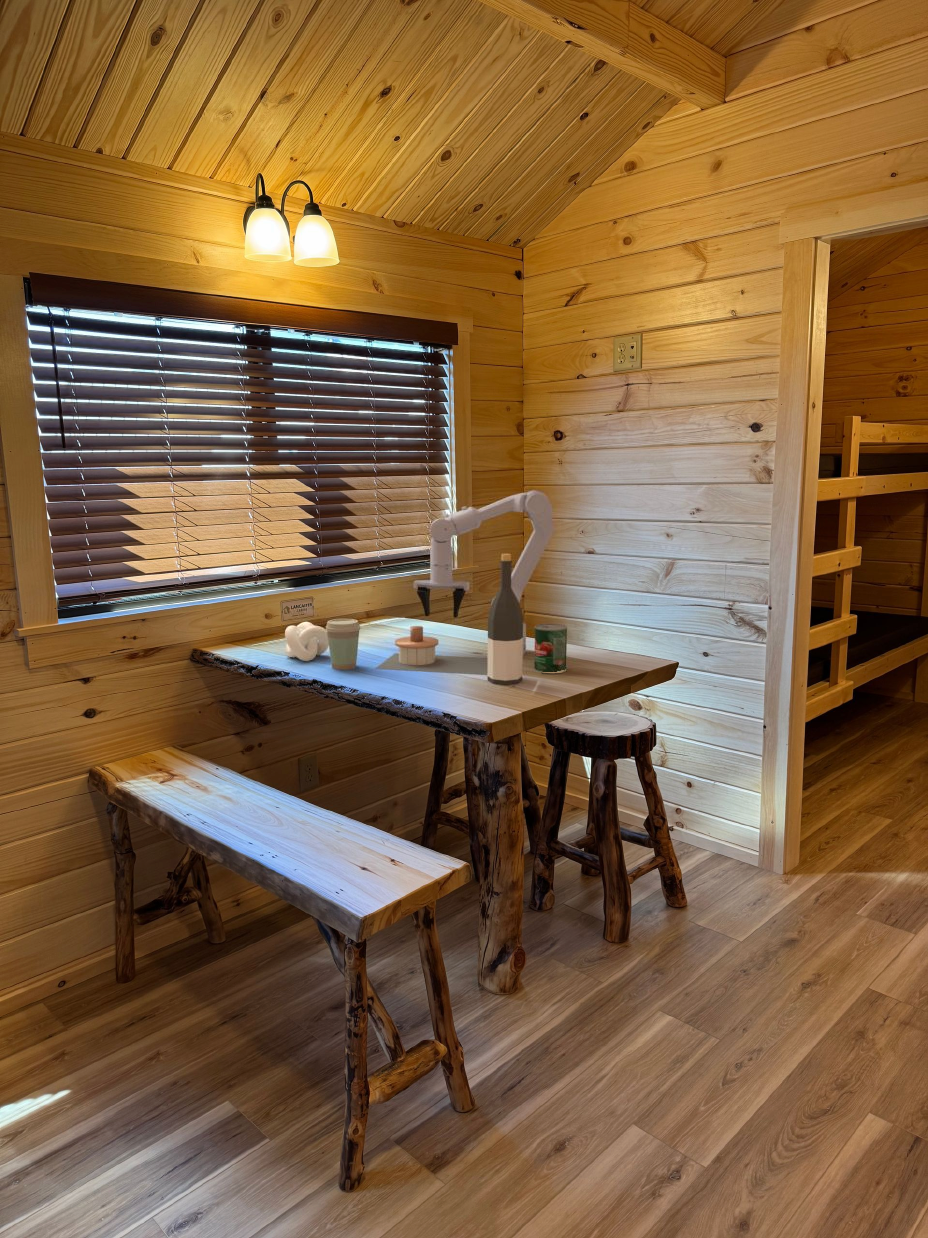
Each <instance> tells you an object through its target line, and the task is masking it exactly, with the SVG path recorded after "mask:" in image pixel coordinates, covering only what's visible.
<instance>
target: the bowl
mask: <svg viewBox="0 0 928 1238" xmlns="http://www.w3.org/2000/svg"><path fill="white" fill-rule="evenodd" d="M398 653H399V662H400V663H402V664H406V665H427V664H431V663H433V662H435V655H436V646H434V647H430V648H421V649H410V648H402V647H398Z"/></svg>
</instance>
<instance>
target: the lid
mask: <svg viewBox="0 0 928 1238" xmlns="http://www.w3.org/2000/svg"><path fill="white" fill-rule="evenodd" d="M409 629H410V631H409V632H410V633H409V634H410V636H405V637H399V638H396V639H395V641H394V645H395V646H396V647H398V648H399V647H402V648H410V649H421V648H430V647H434V646H435V647H437V646H438V645H439V639H438V638H436V637H433V636H424V627H423V626H422V625H421V626H420V625H412V626H410V628H409Z"/></svg>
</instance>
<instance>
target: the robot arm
mask: <svg viewBox="0 0 928 1238" xmlns="http://www.w3.org/2000/svg"><path fill="white" fill-rule="evenodd" d="M508 512H516V513H523V514H524V512H525V514H526V515H527V516H528V517H529V520H530V522H531V526H532V528H533V531H532V532H531V535H530V536H529V539H528V541H527V543H526V545H525V547H524V549H523V550H522V552H521V554H520V556H519V558H518V560H517V562H516V564H515V566H514V568H513V569H512V571H511V588H512V590H513V592H514V594H515V596H516V598H517V600H518V602H519V603H520V602H521V599H522V595H523V592H524V590H525V588H526V586H527V584H528V582H529V580H530V578H531V576H532V575H533V573H534V571H535V569H536V568H537V565H538V564H539V562H540V559H541V557H542V555H543V554H544V552H545V549H546V548H547V545H548V544H549V542H550V540H551V538H552V536H553V534H554V531H555V529H554V527H555V526H554V519H553V518H554V515H553V505H552V503H551V501H550V499H549V497H548V496H547V494H545V493H544V492H542V491H538V490H535V489H534V490H528V491H526V492H521V493H515V494H511V495H510V496H506V497H504V498H502V499H500V500H498V501H495V502H493V503H491V504H488V505H485V506H483V507H481V508H475V507H473V506H469V507H467V506H462V507H461V510H459V511H455V512H454V513H451V514H449V513H445V514H444V518H441V517H440V518H437V519H434V520H433V521H432V522H431V524H430V527H429V532H430V536H431V539H430V551H429V552H430V553H429V555H430V556H429V557H430V561H429V562H430V563H429V564H430V565H429V567H430V571H429V572H430V573H429V574H430V576H429V577H430V579H429V580H428V579H427V580H426V579H425V580H424V579H421V580H414V581H413V589H416V594H417V596H418V598H419V599H420V602H421V604H422V608H423V610H424V611H423V612H424V616H425V617H429V616H430V614H431V608H430V598H431V590H432V589H433V590H453V591H452V597H453V614H452V615H453V618H455V619H456V618H458V616H459V611H460V607H461V604H462V601H463V598H464V596H465V594H466V592H467V591H469V590H470V581H460V580H459V581H458V580H453V547H452V537H453V536H455V537H457V536H460V535H462V534H465V533H468V532H470V531H473V530H476V529H478V528H480V527H481V524H482V521H486V520H488V519H491V518H494V517H497V516H500V515H503V514H505V513H508ZM495 597H496V595H495ZM495 597H493V598H492V600H491V604H490V606H491V605H492V603H493V600H494V598H495ZM526 652H527V624H526V622H523V656H524V655H525V654H526ZM486 656H488V652H487V653H486Z"/></svg>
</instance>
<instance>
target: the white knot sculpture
mask: <svg viewBox="0 0 928 1238" xmlns="http://www.w3.org/2000/svg"><path fill="white" fill-rule="evenodd" d="M325 629H326V628H324V627H322V626H318V625H314V624H313V623H312V622H309V621H303V622H300V623H299V624H298V625H289V626H287V627H286V629H285V631H284V638H285V640H286V647H285V653H286V655H287V656H288V658H290V657H293V658H292V659H295V658H294V657H296V658H298V659H299V660H301V661H304V662H310V660H311V661H312V660H314V659H315V658H316V657H317V656H316V655H318V656H321V655H323V654H325V653H326V652H327V650H328V648H329V643H328V636H327V631H326V630H325Z"/></svg>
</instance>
